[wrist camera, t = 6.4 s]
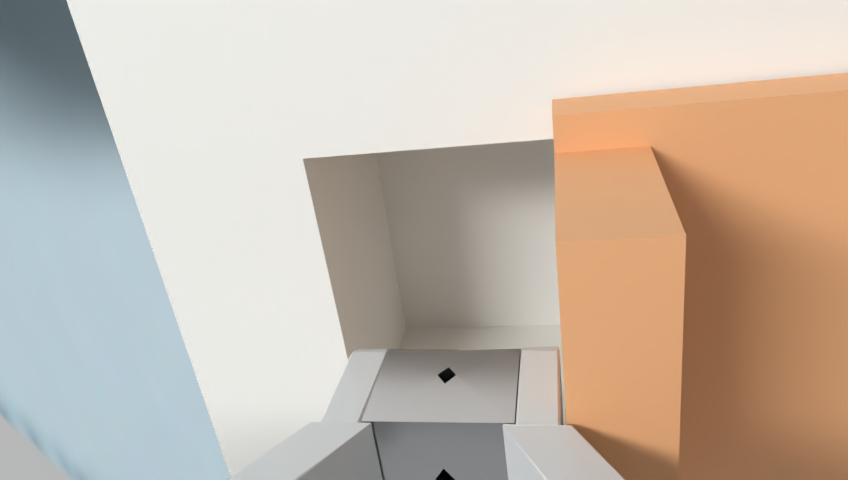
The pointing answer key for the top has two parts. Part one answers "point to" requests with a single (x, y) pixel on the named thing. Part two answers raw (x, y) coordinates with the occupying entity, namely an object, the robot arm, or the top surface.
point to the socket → (382, 165)
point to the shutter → (707, 278)
